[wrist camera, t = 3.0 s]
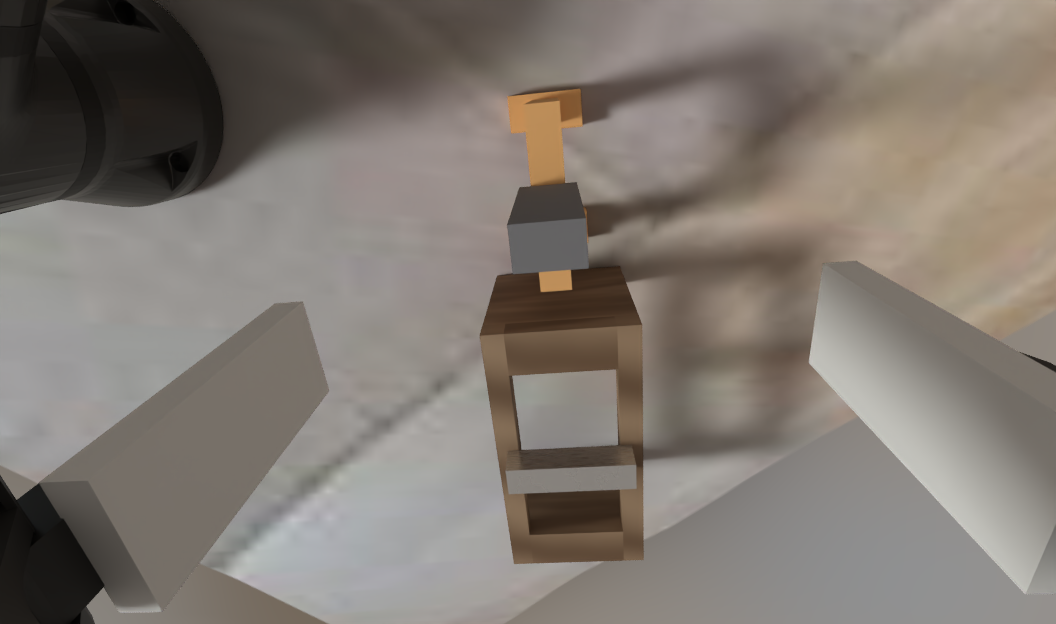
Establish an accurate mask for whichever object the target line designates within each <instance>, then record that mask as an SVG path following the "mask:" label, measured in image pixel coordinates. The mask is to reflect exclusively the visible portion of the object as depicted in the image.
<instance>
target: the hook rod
mask: <svg viewBox="0 0 1056 624" xmlns="http://www.w3.org/2000/svg"><path fill="white" fill-rule="evenodd" d="M505 472H506V479H507V485H508V492H509V494H526V493H550V492H573V491H597V490H621V489H637V485H636V462H635V457H634V453H633V448H632V445H617V446H597V447H576V448H556V449H536V450H516V451H508V454H507V462H506V470H505Z"/></svg>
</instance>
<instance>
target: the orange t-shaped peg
mask: <svg viewBox="0 0 1056 624" xmlns="http://www.w3.org/2000/svg"><path fill="white" fill-rule="evenodd" d="M508 106H509V116H510V126H511V133H521V132H526V139H527V150H528V161H529V172H530V182H531V186H530V187H520V188H519V191H518V194H517V197H516V200H515V203H514V206H513V209H512V212H511V215H510V218H509V221H508V224H507V228H508V236H509V245H510V254H511V262H512V271H513V274H523V273H536V272H539V279H540V290H541V292H549V291H563V290H572V281H571V270H574V269H587V268H589V265H588V245H587V243H588V226H587V211H586V207H585V208H583V204H582V201H581V197H580V193H579V189H578V186H577V182H574V183H565V174H564V159H563V144H562V129H561V128H571V127H581V126H582V106H581V89H573V90H564V91H554V92H545V93H535V94H526V95H516V96H508Z"/></svg>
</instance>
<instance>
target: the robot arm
mask: <svg viewBox="0 0 1056 624" xmlns="http://www.w3.org/2000/svg"><path fill="white" fill-rule="evenodd" d="M222 135H223V116H222V108H221V102H220V98H219V94H218V90H217V87H216V84H215V81H214V78H213V76H212V74H211V71H210V69H209V67H208V65H207V63H206V61H205V59H204V57H203V56H202V54H201V52H200V51H199V49H198V48H197V46H196V45H195V43H194V42H193V40H192V39H191V38H190V36H189V35H188V34H187V33H186V31H185V30H184V29H183V28H182V27H181V26H180V25H179V23H178V22H177V21H176V20H175V19H174V18H173V17H172V16H171V15H169V14H168V13H167V12H166V11H165V10H164V9H163V8H161V7H160V6H159V5H158V4H156V3H155V2H153V1H152V0H0V214H2V213H7V212H11V211H15V210H19V209H23V208H27V207H31V206H35V205H39V204H43V203H47V202H52V201H56V200H69V201H78V202H86V203H95V204H104V205H112V206H121V207H140V206H148V205H153V204H157V203H161V202H164V201H168V200H172V199H175V198H178V197H180V196H183V195H185V194H187V193H189V192H190V191H192V190H193V189H195V188H196V187H197V186H198V185H200V184H201V183H202V182H203V181H204V180H205V178H206V177H207V176H208V175H209V173H210V172H211V170H212V168H213V166H214V165H215V162H216V160H217V158H218V155H219V152H220V148H221V143H222ZM809 364H810V365H811V366H812V367H813V368H814V369H815V370H816V371H817V372H818V373H819V374H820V376H821V377H822V378H823V379H824V380H825V381H826V382H827V383H828V384H829V385H830V386H831V387H832V388H833V389H834V390H835V392H836V393H837V394H838V395H839V396H840V397H841V398H842V399H843V400H844V401H845V402H846V403H847V404H848V405H849V406H850V408H851V409H852V410H853V411H854V412H855V413H856V414H857V415H858V416H859V417H860V418H861V419H862V420H863V421H864V422H865V424H866V425H868V427H869V428H870V429H871V430H872V431H873V432H874V433H875V434H876V435H877V436H878V437H879V439H881V441H882V442H883V443H884V444H885V445H886V446H887V447H888V448H889V449H890V450H891V451H892V452H893V453H894V455H895V456H897V458H898V459H899V460H900V461H901V462H902V463H903V464H904V465H905V466H906V467H907V468H908V469H909V471H910V472H912V474H913V475H914V476H915V477H916V478H917V479H918V480H919V481H920V482H921V483H922V484H923V485H924V487H925V488H926V489H927V490H928V491H929V492H930V493H931V494H932V495H933V496H934V497H935V498H936V499H937V500H938V501H939V502H940V504H941V505H942V506H943V507H944V508H945V509H946V510H947V511H948V512H949V513H950V514H951V515H952V516H953V518H954V519H955V520H956V521H957V522H958V523H959V524H960V525H961V526H962V527H963V528H964V529H965V530H966V531H967V532H968V534H969V535H970V536H971V537H972V538H973V539H974V540H975V541H976V542H977V543H978V544H979V545H980V546H981V547H982V548H983V550H985V552H986V553H987V554H988V555H989V556H990V557H991V558H992V559H993V560H994V561H995V562H996V563H997V564H998V565H999V567H1000V568H1001V569H1002V570H1003V571H1004V572H1005V573H1006V574H1007V575H1008V576H1009V577H1010V578H1011V579H1012V581H1013V582H1014V583H1015V584H1016V585H1017V586H1018V587H1019V588H1020V589H1021V590H1022V591H1023V592H1024V593H1025V594H1056V366H1055V365H1053V364H1051V363H1049V362H1047V361H1044V360H1041V359H1038V358H1035V357H1032V356H1030V355H1027V354H1024V353H1021V352H1018V351H1016V350H1015V349H1013V348H1011V347H1009V346H1008V345H1006V344H1004V343H1002V342H1000V341H999V340H997V339H995V338H993V337H991V336H990V335H988V334H986V333H984V332H983V331H981V330H979V329H977V328H975V327H974V326H972V325H970V324H968V323H966V322H965V321H963V320H961V319H959V318H958V317H956V316H954V315H952V314H950V313H949V312H947V311H945V310H943V309H941V308H940V307H938V306H936V305H934V304H933V303H931V302H929V301H927V300H925V299H924V298H922V297H920V296H918V295H917V294H915V293H913V292H911V291H909V290H908V289H906V288H904V287H902V286H900V285H899V284H897V283H895V282H893V281H892V280H890V279H888V278H886V277H884V276H883V275H881V274H879V273H877V272H875V271H874V270H872V269H870V268H868V267H867V266H865V265H863V264H861V263H859V262H858V261H847V262H833V263H823V267H822V274H821V281H820V288H819V295H818V302H817V309H816V316H815V323H814V330H813V337H812V344H811V351H810V358H809ZM328 392H329V388H328V384H327V381H326V378H325V374H324V371H323V368H322V364H321V361H320V358H319V354H318V351H317V347H316V344H315V341H314V337H313V334H312V331H311V327H310V324H309V321H308V317H307V314H306V311H305V307H304V304H303V302H290V303H276V304H274V305H273V306H271V307H270V308H269V309H267V310H266V311H265V312H263V313H262V314H261V315H259V316H258V317H257V318H255V319H254V320H253V321H251V322H250V323H249V324H248V325H246V326H245V327H244V328H242V329H241V330H240V331H238V332H237V333H236V334H234V335H233V336H232V337H230V338H229V339H228V340H226V341H225V342H224V343H222V344H221V345H220V346H218V347H217V348H216V349H214V350H213V351H212V352H211V353H209V354H208V355H207V356H205V357H204V358H203V359H201V360H200V361H199V362H197V363H196V364H195V365H193V366H192V367H191V368H189V369H188V370H187V371H185V372H184V373H183V374H181V375H180V376H179V377H178V378H176V379H175V380H174V381H172V382H171V383H170V384H168V385H167V386H166V387H164V388H163V389H162V390H160V391H159V392H158V393H156V394H155V395H154V396H152V397H151V398H150V399H148V400H147V401H146V402H144V403H143V404H142V405H141V406H139V407H138V408H137V409H135V410H134V411H133V412H131V413H130V414H129V415H127V416H126V417H125V418H123V419H122V420H121V421H119V422H118V423H117V424H115V425H114V426H113V427H111V428H110V429H109V430H108V431H106V432H105V433H104V434H102V435H101V436H100V437H98V438H97V439H96V440H94V441H93V442H92V443H90V444H89V445H88V446H86V447H85V448H84V449H82V450H81V451H80V452H78V453H77V454H76V455H75V456H73V457H72V458H71V459H69V460H68V461H67V462H65V463H64V464H63V465H61V466H60V467H59V468H57V469H56V470H55V471H53V472H52V473H51V474H49V475H48V476H47V477H45V478H44V479H43V480H41V481H40V482H39V484H37V485H36V486H35V487H33V488H32V489H31V490H29V491H28V492H27V493H25V494H24V495H23V496H22V497H20V498H19V499H18V500H16V499H15V497H14V496H13V494H12V493H11V491H10V490H9V488H8V486H7V485H6V483H5V482H4V480H3V479H2V477H1V476H0V624H95V623H94V620H93V617H92V615H91V613H90V612H89V610H88V609H87V607H86V606H87V604H89V602H90V601H91V600H92V599H93V598H94V597H95V596H96V595H97V594H98V593H99V591H100V590H101V589H102V588H103V587H104V588H105V590H106V592H107V594H108V595H109V597H110V598H111V600H112V602H113V603H114V605H115V606H116V608H117V610H118V611H119V612H120V613H125V612H162V611H163V610H164V609H165V608H166V607H167V605H168V604H169V602H170V601H171V600H172V599H173V597H174V596H175V595H176V593H177V592H178V591H179V589H180V588H181V587H182V585H183V584H184V583H185V581H186V580H187V579H188V577H189V576H190V575H191V573H192V572H193V571H194V569H195V568H196V567H197V566H198V564H199V563H200V562H201V560H202V559H203V558H204V556H205V555H206V554H207V552H208V551H209V550H210V548H211V547H212V546H213V544H214V543H215V542H216V540H217V539H218V538H219V536H220V535H221V534H222V532H223V531H224V530H225V528H226V527H227V526H228V524H229V523H230V522H231V520H232V519H233V518H234V516H235V515H236V514H237V512H238V511H239V510H240V509H241V507H242V506H243V505H244V503H245V502H246V501H247V499H248V498H249V497H250V495H251V494H252V493H253V491H254V490H255V489H256V487H257V486H258V485H259V483H260V482H261V481H262V479H263V478H264V477H265V475H266V474H267V473H268V471H269V470H270V469H271V467H272V466H273V465H274V463H275V462H276V461H277V459H278V458H279V457H280V455H281V454H282V453H283V452H284V450H285V449H286V448H287V446H288V445H289V444H290V442H291V441H292V440H293V438H294V437H295V436H296V434H297V433H298V432H299V430H300V429H301V428H302V426H303V425H304V424H305V422H306V421H307V420H308V418H309V417H310V416H311V414H312V413H313V412H314V410H315V409H316V408H317V406H318V405H319V404H320V402H321V401H322V400H323V398H324V397H325V396H326V394H327V393H328Z"/></svg>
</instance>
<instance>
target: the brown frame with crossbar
mask: <svg viewBox="0 0 1056 624" xmlns="http://www.w3.org/2000/svg"><path fill="white" fill-rule="evenodd" d="M571 281H572V290H563V291H549V292H541V290H540V279H539V273H527V274H514V275H501V276H497V278H496V282H495V285H494V288H493V292H492V295H491V299H490V302H489V306H488V309H487V312H486V316H485V319H484V323H483V326H482V329H481V333H480V342H481V348H482V355H483V361H484V368H485V375H486V381H487V388H488V394H489V401H490V408H491V414H492V421H493V427H494V434H495V441H496V447H497V454H498V460H499V467H500V474H501V480H502V487H503V493H504V500H505V507H506V513H507V520H508V526H509V533H510V540H511V546H512V553H513V559H514V564H526V563H558V562H590V561H622V560H643V558H644V553H643V552H644V551H643V378H642V323H641V320H640V318H639V315H638V313H637V310H636V307H635V305H634V302H633V300H632V297H631V294H630V292H629V289H628V287H627V284H626V281H625V279H624V276H623V274H622V271H621V268H620V266H618V267H605V268H592V269H579V270H571ZM611 369H616V384H617V417H618V445H632V448H633V453H634V457H635V462H636V485H637V489H621V490H597V491H573V492H550V493H526V494H509V492H508V485H507V479H506V472H505V470H506V462H507V454H508V451H516V450H521V442H520V434H519V426H518V418H517V410H516V402H515V395H514V387H513V379H512V376H513V375H530V374H546V373H562V372H579V371H595V370H611Z"/></svg>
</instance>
